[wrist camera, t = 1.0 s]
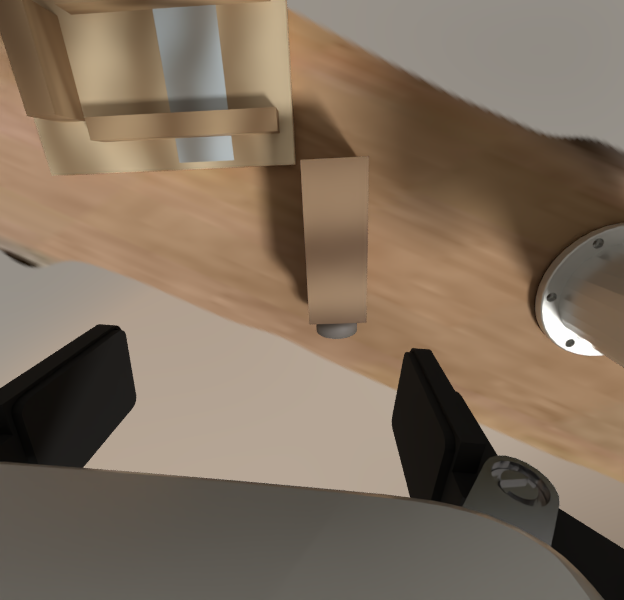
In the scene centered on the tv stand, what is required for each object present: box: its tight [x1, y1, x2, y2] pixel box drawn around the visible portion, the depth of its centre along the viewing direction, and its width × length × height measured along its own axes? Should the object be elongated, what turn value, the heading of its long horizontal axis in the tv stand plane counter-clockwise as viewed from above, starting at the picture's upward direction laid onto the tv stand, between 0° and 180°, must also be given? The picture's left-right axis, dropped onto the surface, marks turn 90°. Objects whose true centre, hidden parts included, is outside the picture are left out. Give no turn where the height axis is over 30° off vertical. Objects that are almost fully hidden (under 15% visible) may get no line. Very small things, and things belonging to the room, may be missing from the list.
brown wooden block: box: [300, 156, 369, 339], centre depth 26 cm, size 14×4×6 cm, turn 3°
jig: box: [0, 0, 296, 176], centre depth 22 cm, size 20×14×4 cm
